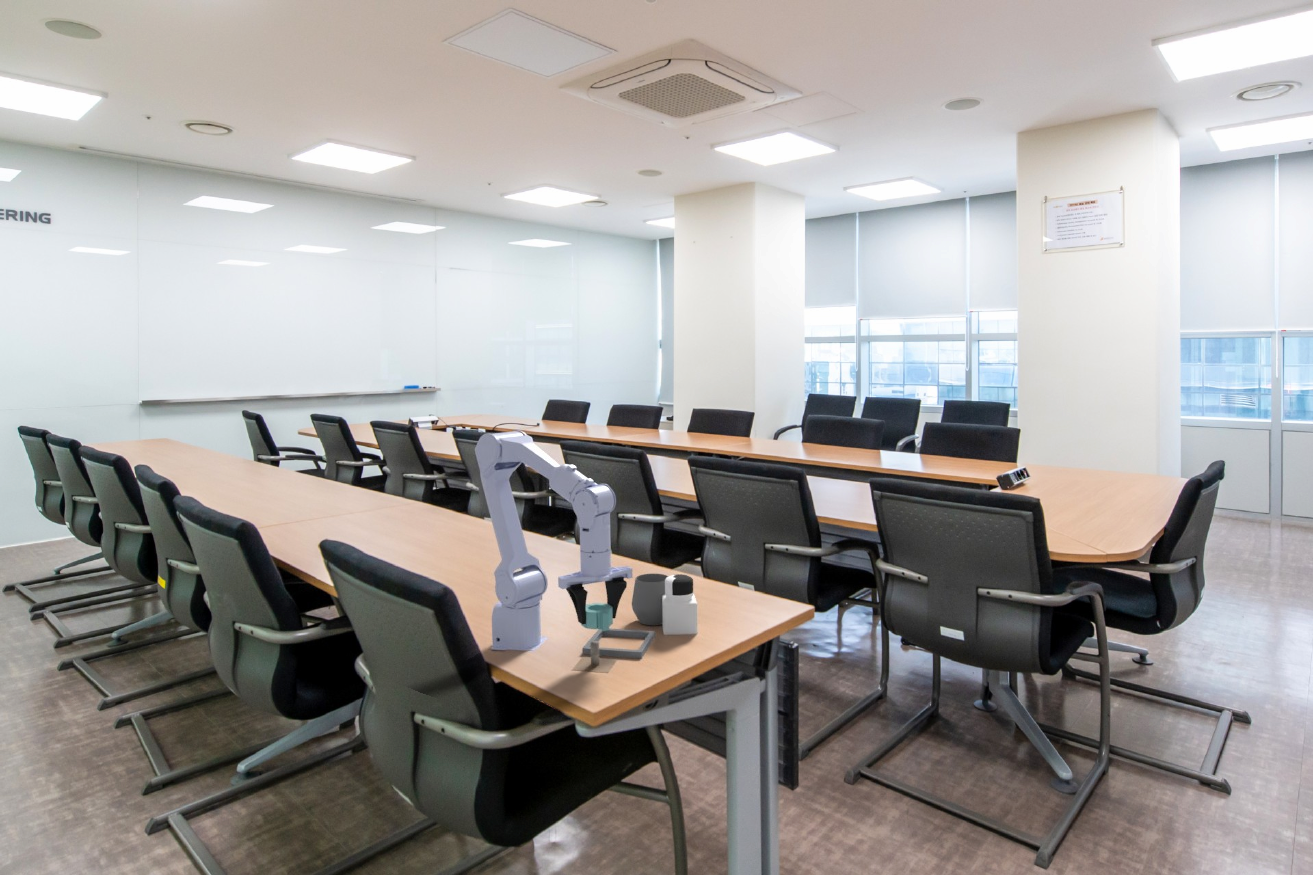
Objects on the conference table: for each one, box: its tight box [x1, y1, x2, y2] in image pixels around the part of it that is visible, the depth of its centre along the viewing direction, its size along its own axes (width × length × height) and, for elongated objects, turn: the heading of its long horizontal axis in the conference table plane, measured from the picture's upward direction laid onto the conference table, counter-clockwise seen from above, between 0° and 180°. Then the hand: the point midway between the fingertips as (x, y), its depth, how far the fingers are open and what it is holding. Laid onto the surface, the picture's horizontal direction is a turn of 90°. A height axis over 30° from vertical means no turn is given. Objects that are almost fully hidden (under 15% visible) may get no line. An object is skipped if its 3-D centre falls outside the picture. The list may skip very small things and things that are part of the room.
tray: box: [581, 627, 656, 659], centre depth 154 cm, size 12×12×2 cm
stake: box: [571, 641, 618, 674], centre depth 144 cm, size 7×7×5 cm
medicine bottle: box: [661, 574, 698, 636], centre depth 163 cm, size 7×7×12 cm
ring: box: [580, 602, 614, 631], centre depth 144 cm, size 7×6×3 cm
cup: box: [631, 572, 670, 626], centre depth 170 cm, size 10×9×10 cm
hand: (596, 619), depth 145 cm, fingers closed on ring, 6 cm apart
